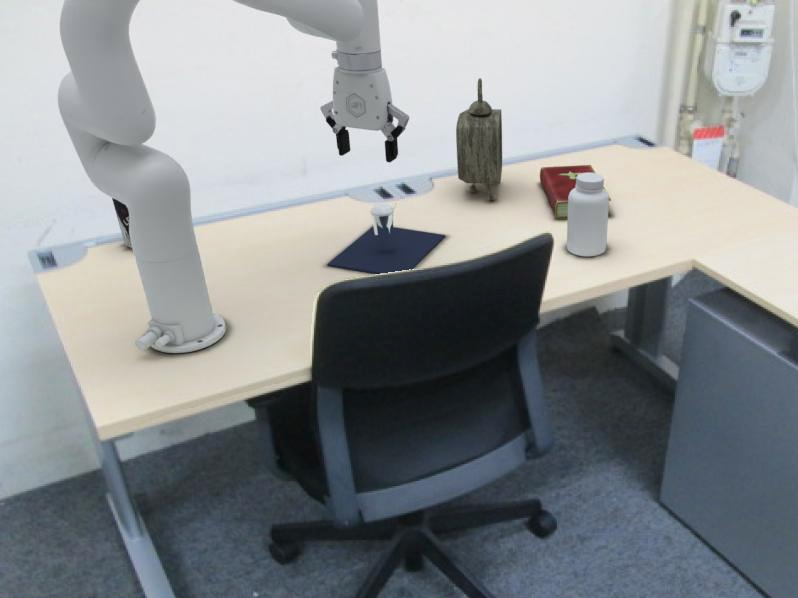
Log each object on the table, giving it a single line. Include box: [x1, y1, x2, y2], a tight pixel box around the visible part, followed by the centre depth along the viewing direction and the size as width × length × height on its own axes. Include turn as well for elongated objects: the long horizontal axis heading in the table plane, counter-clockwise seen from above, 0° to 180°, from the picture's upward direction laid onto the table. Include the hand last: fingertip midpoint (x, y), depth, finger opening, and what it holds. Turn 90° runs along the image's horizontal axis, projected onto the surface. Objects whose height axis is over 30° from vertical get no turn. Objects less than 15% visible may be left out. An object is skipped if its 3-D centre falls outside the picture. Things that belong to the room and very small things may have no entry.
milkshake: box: [369, 202, 398, 252], centre depth 176 cm, size 4×5×10 cm
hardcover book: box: [539, 164, 612, 221], centre depth 201 cm, size 12×21×4 cm, turn 9°
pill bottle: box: [566, 172, 610, 257], centre depth 176 cm, size 8×8×15 cm
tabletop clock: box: [455, 77, 503, 202], centre depth 198 cm, size 14×9×25 cm, turn 179°
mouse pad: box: [326, 226, 446, 275], centre depth 179 cm, size 20×16×1 cm
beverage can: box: [111, 197, 132, 249], centre depth 177 cm, size 6×6×12 cm
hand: (368, 156), depth 167 cm, fingers open, 9 cm apart
